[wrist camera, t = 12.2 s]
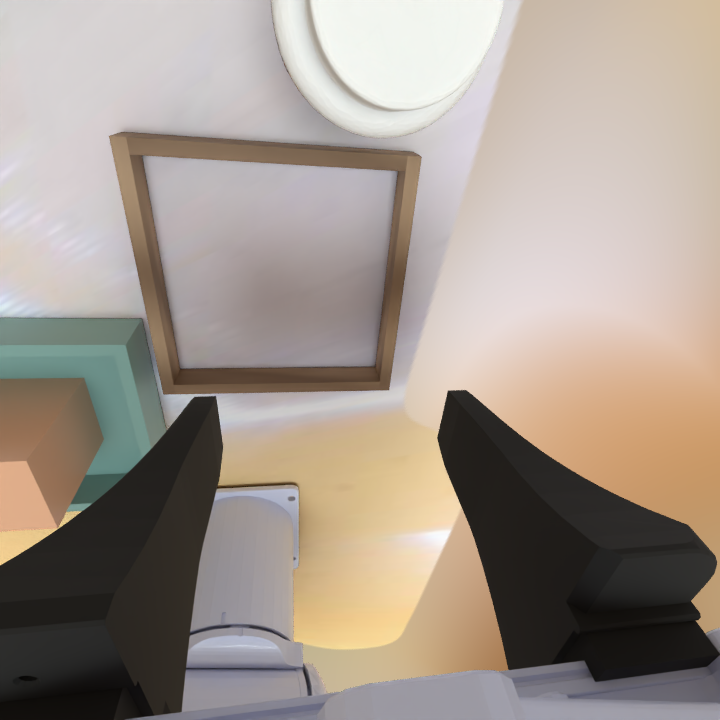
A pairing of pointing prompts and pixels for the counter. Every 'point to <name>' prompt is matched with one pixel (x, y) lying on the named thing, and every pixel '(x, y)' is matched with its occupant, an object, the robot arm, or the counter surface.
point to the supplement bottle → (384, 58)
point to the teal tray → (93, 385)
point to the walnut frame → (137, 144)
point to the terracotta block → (43, 449)
